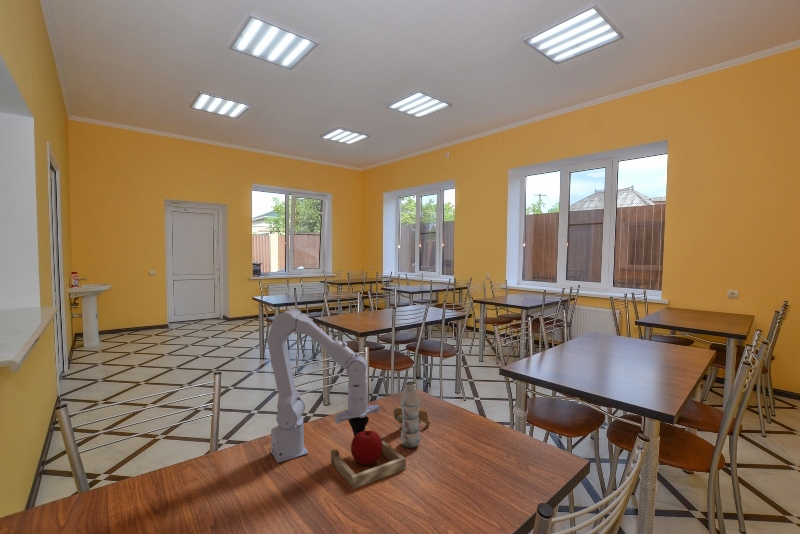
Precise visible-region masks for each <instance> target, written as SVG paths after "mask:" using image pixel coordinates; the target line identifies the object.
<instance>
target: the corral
mask: <svg viewBox="0 0 800 534" xmlns="http://www.w3.org/2000/svg"><path fill="white" fill-rule="evenodd" d="M379 436H380V438H381V440H382V445H383V449H382V453H381V454H383V455H384V456H385V457H386V458H388V460H390V461H388V462H386V463H383V464H380V465H377V466H374V467H372V468H371V467H370V468H369V469H365V470H363V471H361V472H360V471H359V472H358V473H355V472H354V470H353V469H351V467H350V466H349V465H348V464H347V463H346V462H345V461H344V460H343V458H342V457H341V456H340V452H339V450H338V449H333V450H331V451H330V465H331V466H332V467H333V468H335V469H336V470H337V472H339V474H340V475H341V476H342V477H343V478H344V479H345V480H346V482H347V483H348V484H349V486H350V487H352V489H353V490H355V489H358V488H360V487H363V486H365V485H369V484H372V483H373V482H376V481H378V480H380V479H384V478H386V477H389V476H391V475H393V474H397V473H399V472H401V471H403V470H406V469H407V459H406V457H405V456H403V454H401V453H399V452H398V451H397V450H396V449H394V448H393V447H392V446H391V445H390V444H388V443H387V442H386V441H385V437H384V436H382V434H381V435H380V434H379Z"/></svg>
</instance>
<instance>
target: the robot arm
mask: <svg viewBox="0 0 800 534" xmlns="http://www.w3.org/2000/svg"><path fill="white" fill-rule="evenodd" d="M293 332H294V334H295V335H306V336H308V337H309V338H310V339H312V340H313V341H315V342H316V343H318V344H319V345H320V346H321V347H323V348H324V349H325V350H326V353H327V356H328V357H329V358H330V359H331V360H333V361H334V362H335V363H336V364H337V365H339V366H340V367H341V368H342V369H345V372H346V375H347V377H348V382H347V387H348V388H347V390H348V392H347V396H348V398H347V399H348V400H347V403H348V405H347V409H346V410H344V411H343V412H340V413H338V414H335V415H334V422H335V424H341V422H344V421H348V423H349V425H350V427H351V431H352V433H353V436H355V435H356V434H357V433H359V432H362V431H365V429H364V427H365V428H366V427H367V425H368V423H369V420H370V418H369V417H368V416H367V415H371V414H375V413H376V414H378V413H380V412H381V409H380V407H381V406H380V405H378V404H369V405H368V382H367V381H368V380H367V377H368V376H367V369H368V360H367V359H366V357H365V356H364V355H362V354H359V353H358V352H355V351H354V350H353V349H351V348H350V347H348V346H347V345H348V342H346V341H343V342H342V341H341V340H334V339H332V338H331V337H330V336H329V335H328V334H327V333H326V332H325V331H324V330H323V329H321V328H320V326H318V325H317V324H316V323H315V322H314V321H313V320H312V319H311V318H310V317H309V316H308V315H307V314H305V313H302V311H301V310H300V309H297V308H290V309H288V310H286V311H284V312H281V313H279V314H277V316H276V317H275V318H274V319H273V320H272V321H271V327H270V331H269V333H268V335H267V338H266V341H267V347H268V351H269V356H270V360H271V366H272V372H273V376H274V380H275V384H276V389H277V394H278V395H277V396H278V400H277V403H276V409H277V412H276V413H277V414H276V418H275V420H276V422H277V426H274V427H273V428H271V431H270V454H271V455H272V456H273V457H274V459H275V462H276V463H282V462H285V461H289V460H292V459H296V458H298V457H302V456H304V455H307V454H309V451H308V450H307V448H306V447H305V441H304V440H305V435H304V434H305V433H304V432H305V431H304V430H305V428H304V419H303V416H302V415H303V414H304V413H305V410H306V404H305V401H304V399H302V398H301V395H300V392H299V391H298V390H297V388H296V384H295V379H294V374H293V370H292V369H293V368H292V366H291V365H292V364H291V360H290V356H289V351H288V347H287V345H288V344H287V340H288V339H289V337H290V336H291V334H292V333H293Z"/></svg>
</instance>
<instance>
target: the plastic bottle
mask: <svg viewBox="0 0 800 534" xmlns="http://www.w3.org/2000/svg"><path fill="white" fill-rule="evenodd" d="M400 406H401V408H402V429H401V430H400V441H401V442H400V443H401V444H402V445H403V446H404V447H406V448H416V447H418V446H419V444H420V443H421V440H422V439H421V438H422V437H421V431H420V424H419V408H421V407H420V406H421V397H420V395H419V393H418V392H417V383H416V382H415V381H412V380H411V381H409V380H408V381H406V382H404V392H403V393H402V394H401V396H400Z"/></svg>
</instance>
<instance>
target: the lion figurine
mask: <svg viewBox="0 0 800 534" xmlns="http://www.w3.org/2000/svg"><path fill="white" fill-rule="evenodd" d="M392 414H393V419H394V420H395V421H396V422H398V423H399V424H400V425H401V426H400V427H399V430H402V408H401V405H397V406H395V408H393V412H392ZM422 422H423V423H425V424H426V425H424V427H425V429H429V427H430V424H431V422H430V420H429V418H428V413H427V411H426V410H425V409H424V408H422V407H420V408H419V425H420V424H421V423H422Z"/></svg>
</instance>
